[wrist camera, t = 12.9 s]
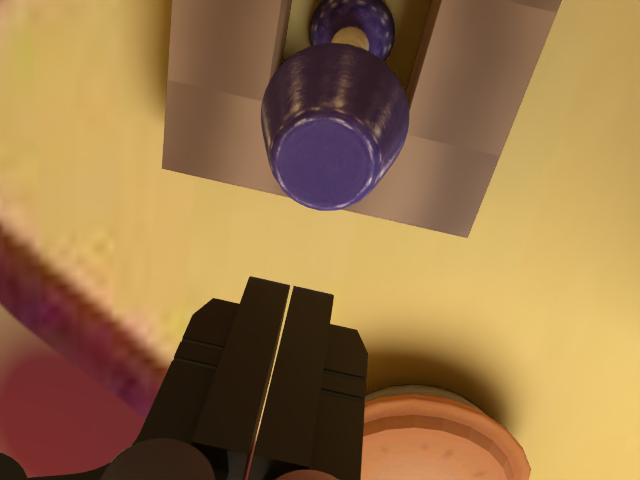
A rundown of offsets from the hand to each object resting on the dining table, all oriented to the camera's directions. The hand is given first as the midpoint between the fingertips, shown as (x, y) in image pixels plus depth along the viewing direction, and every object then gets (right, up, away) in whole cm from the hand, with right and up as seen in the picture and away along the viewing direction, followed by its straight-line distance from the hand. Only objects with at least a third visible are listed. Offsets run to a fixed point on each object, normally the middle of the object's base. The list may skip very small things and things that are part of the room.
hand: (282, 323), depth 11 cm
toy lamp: (+2, +12, +19) cm, 23 cm away
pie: (+8, -13, +35) cm, 38 cm away
